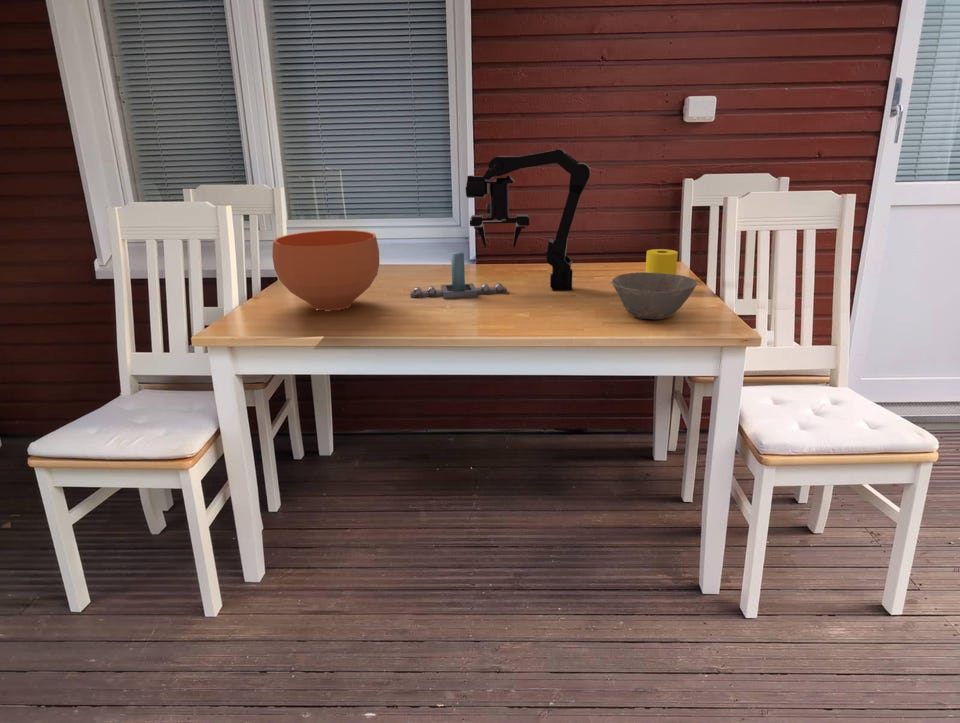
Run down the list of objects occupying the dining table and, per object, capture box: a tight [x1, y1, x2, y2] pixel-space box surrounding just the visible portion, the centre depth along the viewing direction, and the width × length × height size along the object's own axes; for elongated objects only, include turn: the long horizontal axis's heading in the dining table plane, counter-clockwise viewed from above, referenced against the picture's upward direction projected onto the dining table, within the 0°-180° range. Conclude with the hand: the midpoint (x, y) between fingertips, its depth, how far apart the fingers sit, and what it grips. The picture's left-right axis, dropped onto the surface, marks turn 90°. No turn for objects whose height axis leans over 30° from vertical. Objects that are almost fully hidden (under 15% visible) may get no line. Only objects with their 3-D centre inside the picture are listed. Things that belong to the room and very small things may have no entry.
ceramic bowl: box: [611, 272, 698, 320], centre depth 178 cm, size 22×23×10 cm
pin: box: [450, 251, 466, 291], centre depth 205 cm, size 4×4×13 cm
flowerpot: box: [272, 229, 380, 311], centre depth 192 cm, size 30×30×20 cm
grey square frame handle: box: [409, 282, 508, 300], centre depth 207 cm, size 30×10×3 cm, turn 97°
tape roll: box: [644, 248, 679, 275], centre depth 219 cm, size 10×10×9 cm
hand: (499, 247), depth 211 cm, fingers open, 9 cm apart
